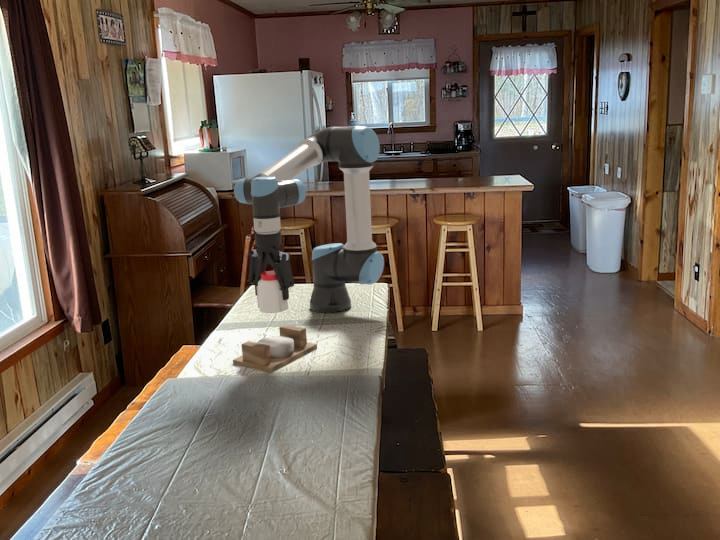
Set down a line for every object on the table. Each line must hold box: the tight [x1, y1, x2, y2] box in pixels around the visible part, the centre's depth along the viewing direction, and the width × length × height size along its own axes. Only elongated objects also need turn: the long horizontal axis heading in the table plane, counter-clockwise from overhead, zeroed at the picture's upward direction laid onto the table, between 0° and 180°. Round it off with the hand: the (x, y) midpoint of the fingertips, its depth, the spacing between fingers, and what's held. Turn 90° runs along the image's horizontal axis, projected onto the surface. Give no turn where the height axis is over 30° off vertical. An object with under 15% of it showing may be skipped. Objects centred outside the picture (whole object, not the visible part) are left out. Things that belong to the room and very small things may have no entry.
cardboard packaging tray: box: [232, 324, 318, 373], centre depth 202 cm, size 22×14×6 cm, turn 147°
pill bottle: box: [258, 270, 281, 314], centre depth 198 cm, size 8×8×11 cm
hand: (272, 308), depth 199 cm, fingers closed on pill bottle, 8 cm apart
